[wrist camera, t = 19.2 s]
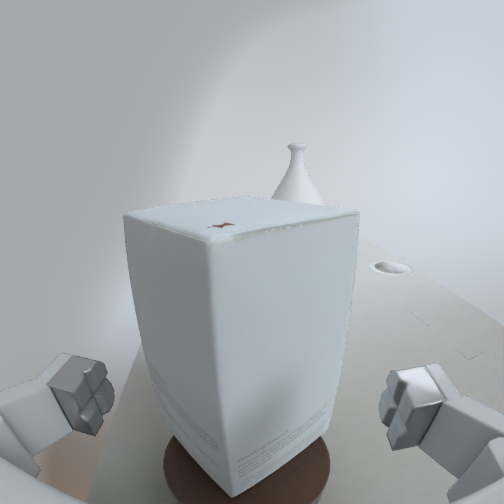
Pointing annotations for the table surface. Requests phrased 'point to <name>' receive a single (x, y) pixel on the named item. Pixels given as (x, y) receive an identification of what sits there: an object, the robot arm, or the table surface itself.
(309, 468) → the walnut riser
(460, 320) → the table surface
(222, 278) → the white packaging box
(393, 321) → the table surface
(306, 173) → the vase
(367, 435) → the table surface
